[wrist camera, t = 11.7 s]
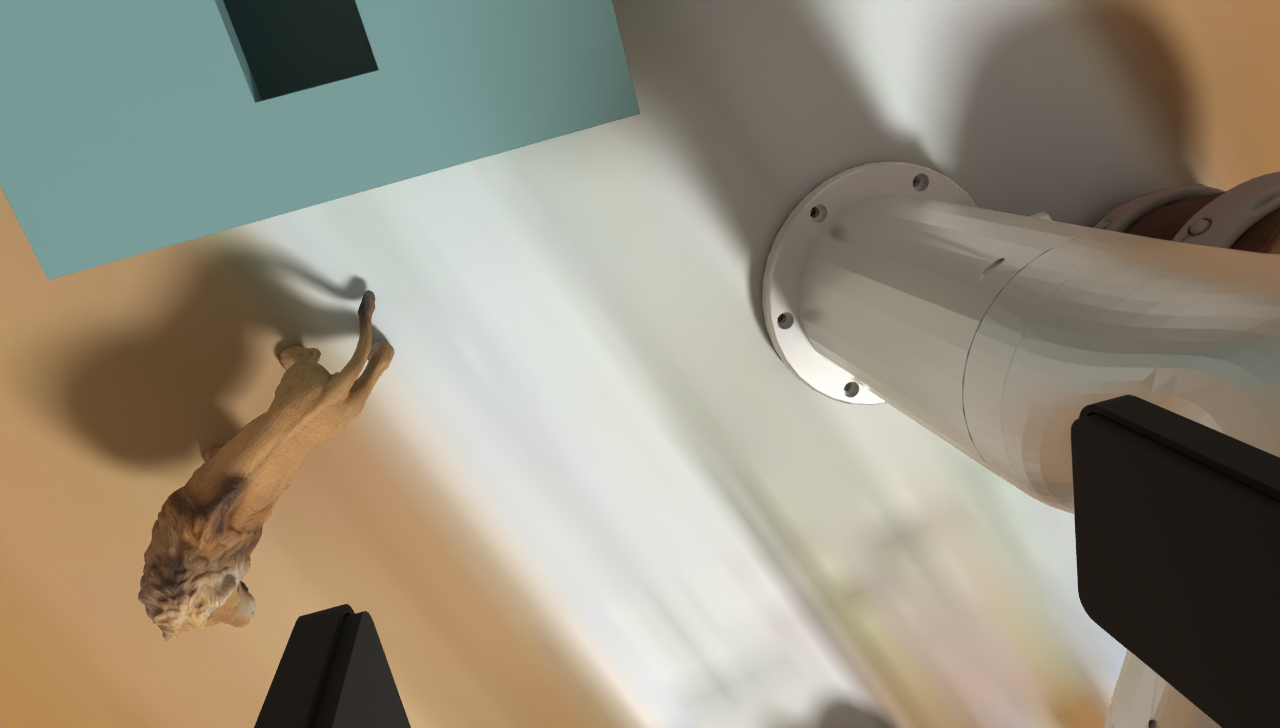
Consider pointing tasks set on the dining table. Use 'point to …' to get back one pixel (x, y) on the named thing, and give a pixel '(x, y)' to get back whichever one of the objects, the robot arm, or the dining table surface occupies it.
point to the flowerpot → (1206, 215)
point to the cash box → (273, 106)
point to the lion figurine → (249, 489)
